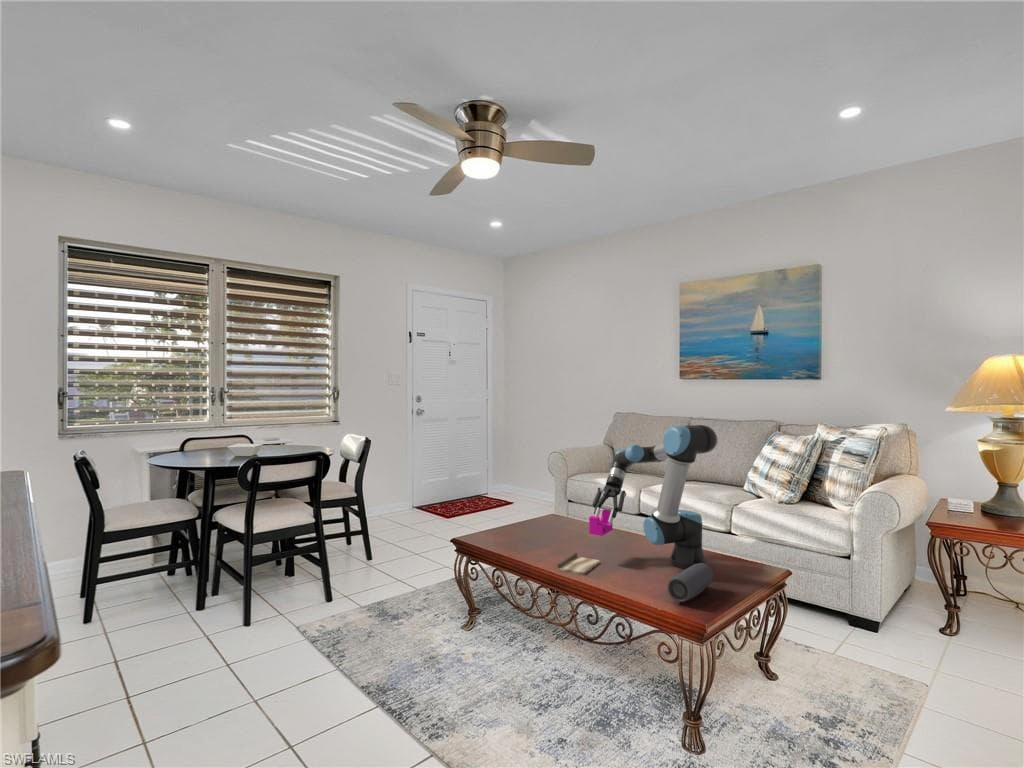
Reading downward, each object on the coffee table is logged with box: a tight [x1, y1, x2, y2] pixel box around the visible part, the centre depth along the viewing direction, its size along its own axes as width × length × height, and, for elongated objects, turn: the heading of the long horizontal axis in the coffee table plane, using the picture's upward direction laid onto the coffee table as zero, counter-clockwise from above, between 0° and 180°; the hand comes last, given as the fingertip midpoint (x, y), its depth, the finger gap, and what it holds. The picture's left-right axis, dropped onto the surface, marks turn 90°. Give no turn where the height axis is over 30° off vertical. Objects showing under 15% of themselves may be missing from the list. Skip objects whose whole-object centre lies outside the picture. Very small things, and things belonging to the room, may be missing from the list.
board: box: [557, 552, 601, 576], centre depth 235 cm, size 12×18×2 cm, turn 149°
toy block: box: [588, 508, 613, 537], centre depth 244 cm, size 15×6×8 cm, turn 144°
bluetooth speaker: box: [667, 563, 714, 603], centre depth 202 cm, size 23×9×10 cm, turn 139°
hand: (602, 522), depth 243 cm, fingers closed on toy block, 6 cm apart
